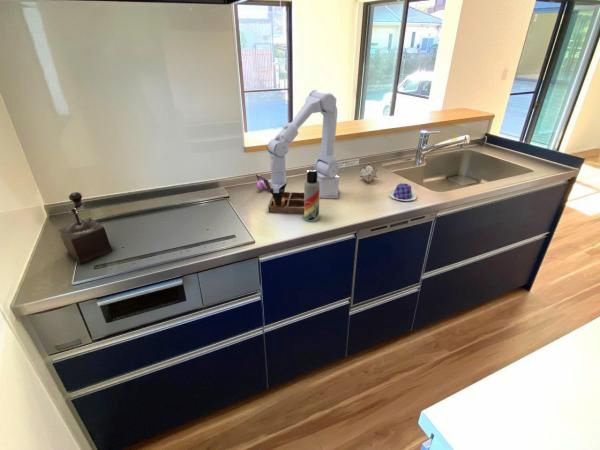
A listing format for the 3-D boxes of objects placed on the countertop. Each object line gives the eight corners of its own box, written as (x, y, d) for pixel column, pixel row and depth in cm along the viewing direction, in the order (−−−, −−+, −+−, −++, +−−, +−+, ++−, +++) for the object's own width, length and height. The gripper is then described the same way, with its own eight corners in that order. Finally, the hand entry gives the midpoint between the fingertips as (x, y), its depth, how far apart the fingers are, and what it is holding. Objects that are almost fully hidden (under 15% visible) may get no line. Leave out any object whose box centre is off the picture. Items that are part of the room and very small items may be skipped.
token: (285, 202, 143) (285, 197, 142) (284, 207, 139) (284, 202, 138) (274, 202, 144) (274, 196, 142) (272, 207, 139) (272, 201, 138)
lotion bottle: (308, 223, 132) (309, 173, 122) (301, 216, 136) (301, 168, 126) (321, 219, 134) (323, 171, 124) (314, 213, 138) (315, 166, 128)
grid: (307, 198, 151) (308, 192, 150) (305, 214, 138) (305, 208, 137) (274, 196, 152) (274, 191, 151) (268, 212, 139) (268, 206, 138)
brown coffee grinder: (115, 249, 116) (99, 201, 107) (80, 265, 108) (60, 214, 100) (94, 234, 124) (78, 189, 115) (60, 248, 117) (40, 200, 108)
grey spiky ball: (364, 186, 171) (365, 167, 172) (380, 184, 165) (381, 164, 166) (355, 182, 164) (356, 162, 165) (371, 180, 158) (372, 159, 160)
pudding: (404, 189, 159) (406, 178, 157) (422, 199, 150) (424, 188, 147) (383, 193, 155) (384, 182, 152) (399, 204, 145) (401, 193, 143)
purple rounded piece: (268, 179, 152) (257, 173, 158) (259, 185, 150) (248, 179, 156) (273, 190, 157) (262, 184, 163) (264, 197, 155) (253, 190, 161)
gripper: (271, 163, 140) (272, 194, 147) (264, 177, 128) (266, 209, 135) (288, 164, 140) (288, 194, 147) (283, 177, 127) (284, 210, 134)
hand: (279, 201), depth 141 cm, fingers closed on token, 5 cm apart
